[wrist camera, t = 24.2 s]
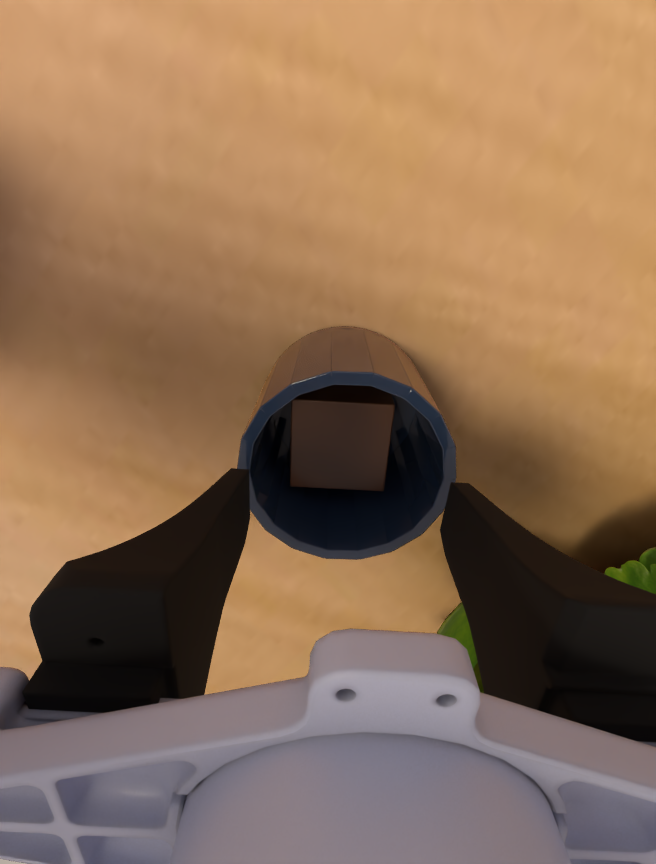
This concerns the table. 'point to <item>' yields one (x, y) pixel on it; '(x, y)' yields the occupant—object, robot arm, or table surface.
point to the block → (341, 438)
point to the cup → (339, 508)
